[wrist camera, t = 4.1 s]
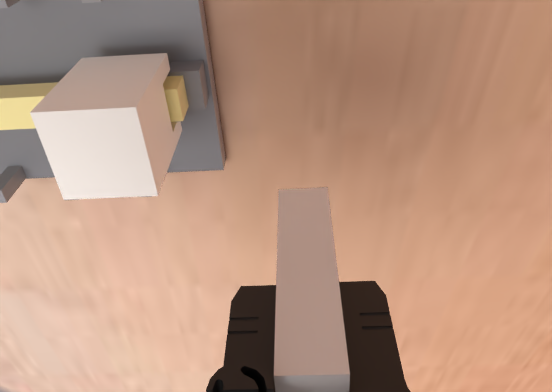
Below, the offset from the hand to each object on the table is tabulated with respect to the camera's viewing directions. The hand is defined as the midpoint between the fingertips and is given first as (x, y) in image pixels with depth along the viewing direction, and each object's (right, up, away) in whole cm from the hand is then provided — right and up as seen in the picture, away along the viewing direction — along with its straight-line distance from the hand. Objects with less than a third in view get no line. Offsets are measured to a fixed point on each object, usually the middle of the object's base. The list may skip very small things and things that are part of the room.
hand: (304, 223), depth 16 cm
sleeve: (-8, +6, +8) cm, 13 cm away
